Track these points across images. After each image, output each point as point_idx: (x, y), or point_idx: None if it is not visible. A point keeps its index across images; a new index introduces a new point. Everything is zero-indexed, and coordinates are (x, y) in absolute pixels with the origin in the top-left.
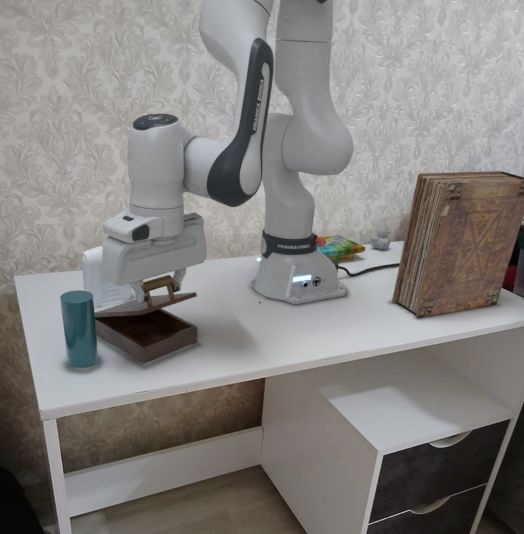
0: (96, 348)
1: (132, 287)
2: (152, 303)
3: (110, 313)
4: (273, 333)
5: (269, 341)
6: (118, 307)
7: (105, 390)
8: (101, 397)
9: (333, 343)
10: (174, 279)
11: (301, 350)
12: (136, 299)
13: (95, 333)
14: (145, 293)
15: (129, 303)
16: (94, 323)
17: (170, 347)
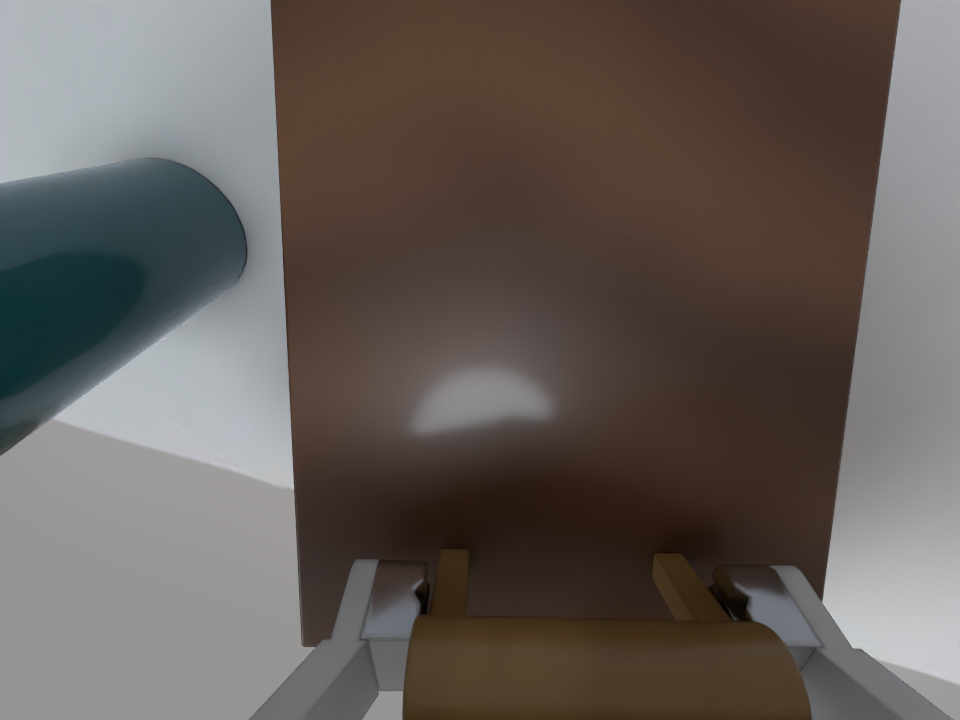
0: (181, 322)
1: (273, 702)
2: (513, 514)
3: (284, 246)
4: (930, 511)
5: (853, 533)
6: (452, 93)
7: (201, 430)
8: (176, 450)
9: (941, 631)
10: (821, 684)
11: (841, 606)
12: (354, 569)
13: (122, 365)
14: (388, 689)
15: (602, 52)
16: (64, 408)
17: None
